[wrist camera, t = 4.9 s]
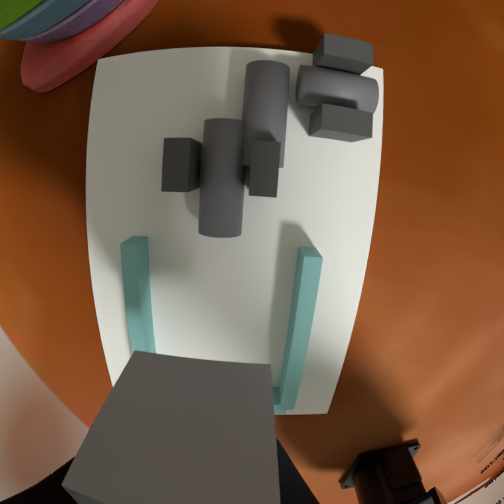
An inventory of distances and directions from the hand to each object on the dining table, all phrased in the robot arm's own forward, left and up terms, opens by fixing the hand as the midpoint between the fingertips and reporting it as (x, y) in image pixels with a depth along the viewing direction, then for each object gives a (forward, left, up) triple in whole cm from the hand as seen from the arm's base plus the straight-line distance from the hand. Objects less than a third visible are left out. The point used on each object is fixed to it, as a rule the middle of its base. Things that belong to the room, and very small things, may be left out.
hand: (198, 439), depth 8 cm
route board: (+4, 0, -8) cm, 9 cm away
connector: (0, 0, -1) cm, 1 cm away
